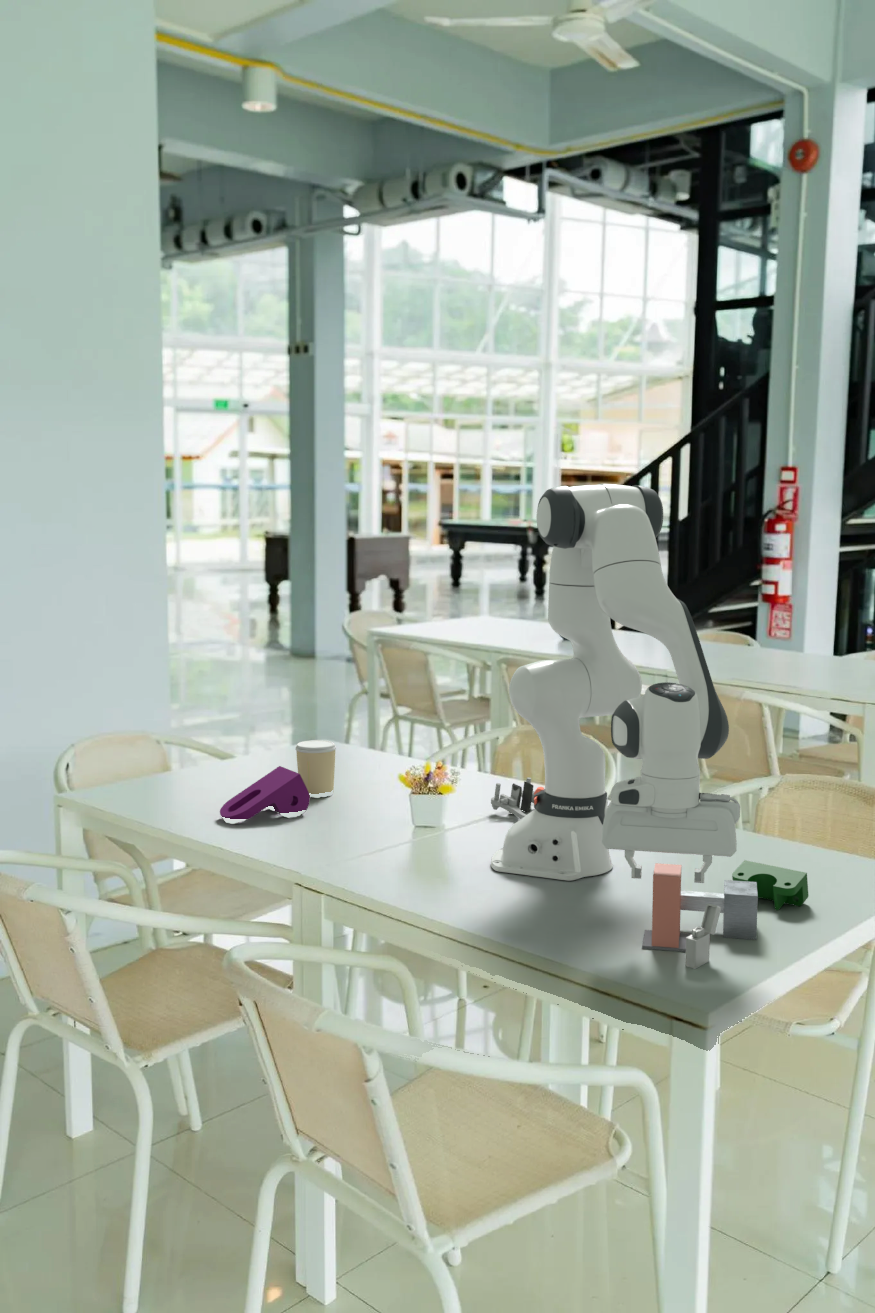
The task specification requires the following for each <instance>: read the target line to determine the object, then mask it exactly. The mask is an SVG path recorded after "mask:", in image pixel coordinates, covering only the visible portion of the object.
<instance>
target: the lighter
mask: <svg viewBox="0 0 875 1313" xmlns="http://www.w3.org/2000/svg"><path fill="white" fill-rule="evenodd" d="M720 911H721V908H720V907H719V906H716V905H712V904H707V905H706V909H705V912H704V914H703V917H702V922H701V926H696V927H695V928H693V929H691V930H692V931H691V934H690V936H688V937H686V952H685V958H684V959H685V962H684V963H685V967H687V968H689V969H697V968H698V969H699V968H700V967H702V966H703V965H705V964H707V963H709V962H710V943H711V941H710V940H711V935H715V934H716V930H717V926H718V922H719V917H720V914H721V913H720Z"/></svg>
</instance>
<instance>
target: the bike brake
mask: <svg viewBox="0 0 875 1313" xmlns="http://www.w3.org/2000/svg"><path fill="white" fill-rule="evenodd" d="M531 782H532V777H526V781H524V782H523V789H522V786H520V785H518V784H516V783H512V784H511V791H510V796H508V795H506V794H504V793H501V783H498V782H496V784H495V789H494V795H493V796H494V797H491V798H490V804H491V807H492V810H498V809H499V808H501V809H503V810H505V811H507V812H508V813H510V814H511V813H512V814H511V815H513V814H514V815H513V816H514V817H517V818H518V819H519V820H520V819H522V818H523V817H524V816H526V815H527V814H526V812H531V806H532V804H534V792H535V790H534V785H533V783H532V784H531ZM500 793H501V794H500ZM521 810H523V811H525V812H523V811H521Z"/></svg>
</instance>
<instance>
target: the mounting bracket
mask: <svg viewBox="0 0 875 1313" xmlns="http://www.w3.org/2000/svg"><path fill="white" fill-rule="evenodd" d="M310 800H311V798H310V795H309V792H308V790H307V788H306V786H305V784H304V782H303V779H302V777H301V775H300V774H299V773H298V772H296V771H293V770H290V769H288V768H285V767H284V766H282V765H278V766H277V767H276V768H274V769H273V770H271V771H270V772H269V773H267V774H265V775H264V776H263V777H261V778H260V779H258V780H256V781H255V782H253V783H252V784H251V785H249V786H248V787H247V788H244V790H241V791H240V792H239V793H238V794H236V795H234V796H233V797H231V798H230V799H229V800H227V801H226V802H225V803H224V804H223V805H222V806H221V807H220V809H219V815H220V816H222V817H225V818H230V819H248V820H250V819H252V818H253V817H254V816H256V815H258V814H259V813H260V812H262V811H264V810H266V807H268V806H273V807H274V809H275V812H276V813H277V812H279V813H289V812H298V811H302V810H306V811H307V810H308V808H309V806H310ZM222 817H221V818H222Z"/></svg>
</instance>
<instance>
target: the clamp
mask: <svg viewBox="0 0 875 1313" xmlns="http://www.w3.org/2000/svg"><path fill="white" fill-rule="evenodd" d="M731 878H732V880H733V881H748V882H756V883H757V893H758V899H763V900H768V899H769V901H772V900H773V901H772V902H773V903H774V905H773V906H774V910H776V911H779V910H780V909H781V908H782V906H784V904H786V903H788V904H787V905H791V904H794V905H793V906H795V905H796V907H801V906H802V905H803V904H804V903H805V902H806V901H807V900H808V898H809V886H808V885H809V884H808V872H805V871H800V870H795V869H791V868H785V867H780V866H775V865H770V864H765V863H760V862H756V861H752V860H751V861H750V860H746V859H744V860H743V861H742V862H741V863H740V864H739V866H738V867H737V868H735V870H733V872H731Z"/></svg>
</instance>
